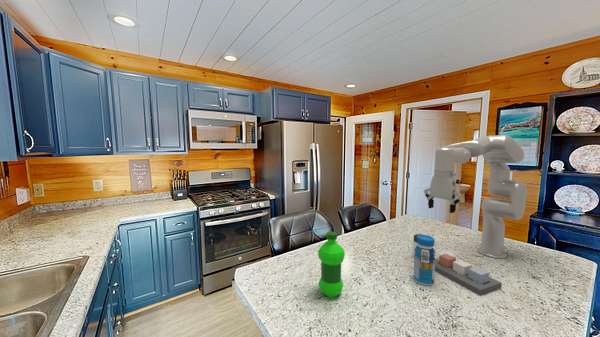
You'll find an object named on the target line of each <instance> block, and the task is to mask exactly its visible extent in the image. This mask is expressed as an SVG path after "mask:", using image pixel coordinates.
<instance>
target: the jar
mask: <svg viewBox="0 0 600 337" xmlns="http://www.w3.org/2000/svg"><path fill="white" fill-rule="evenodd" d="M418 235H423V233H422V234H421V233H416V234H414V235H413V240H412V246H411V248H412V249H411V257H412V259H414V254H415V248H416V246H417V245H418V244H417V236H418Z"/></svg>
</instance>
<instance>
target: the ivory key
mask: <svg viewBox="0 0 600 337" xmlns="http://www.w3.org/2000/svg"><path fill="white" fill-rule="evenodd" d="M471 268H473V267H472V264H470V263H469V262H466V261H464V260H461V259H458V260H456V261H454V262H453V271H455V272H457V273H458V274H460V275H462V276H465V275H467V274H469V269H471Z"/></svg>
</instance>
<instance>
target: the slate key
mask: <svg viewBox="0 0 600 337" xmlns="http://www.w3.org/2000/svg"><path fill="white" fill-rule="evenodd" d="M489 277H490V273H489V272H488V271H486V270H484V269H481V268H480V267H477V266H475V267H471V269H469V275H468V278H469V279H471V280H473V281H474V282H476V283H478V284H480V285H483V283H486V282H488V280H489Z"/></svg>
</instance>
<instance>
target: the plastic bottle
mask: <svg viewBox="0 0 600 337" xmlns="http://www.w3.org/2000/svg"><path fill="white" fill-rule="evenodd" d="M325 238H326V239H327V241H325V242H324V243H323V244H321V245H320V247H319V249H318V253H317V255H318V259H319V260H320V261H321V263H320V264H321V265H320V270H321V272H320V279H319V281H318V287H319V289H320V291H321V292H322V293H323V294H324V296H327V297H328V296H329V297H328V298H335V297H337V296H339V295H340V294H341V293H342V291H343V288H344V281H343V280H342V263H343V262H344V259H345V253H346V252H345V249H344V248H343V247H342V246H341V245H340V244H339V243H338V242H337V239H338V233H337V232H336V231H326V236H325ZM336 295H337V296H336ZM334 296H335V297H334Z"/></svg>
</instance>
